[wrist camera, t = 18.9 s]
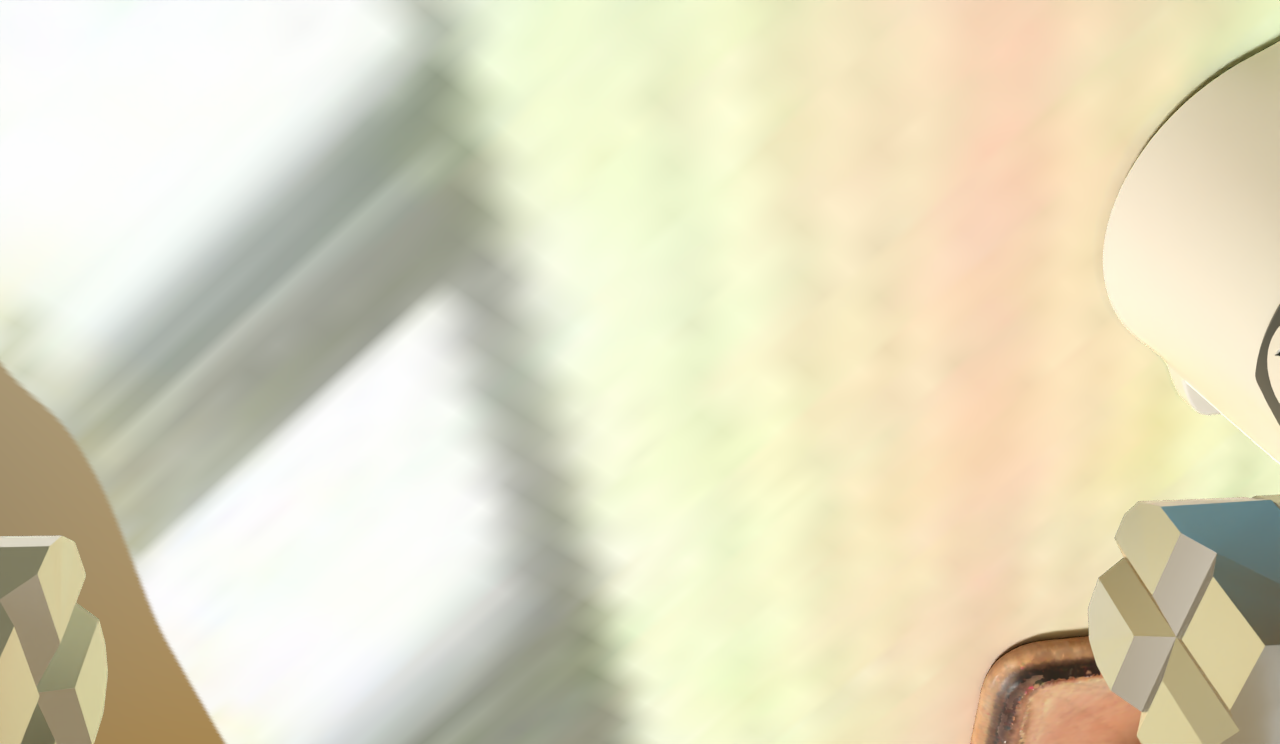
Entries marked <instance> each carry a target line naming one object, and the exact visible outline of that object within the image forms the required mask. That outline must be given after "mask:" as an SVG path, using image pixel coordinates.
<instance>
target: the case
mask: <svg viewBox="0 0 1280 744" xmlns="http://www.w3.org/2000/svg"><path fill="white" fill-rule="evenodd" d="M1140 717H1141V711H1139V710H1138V709H1137V708H1135V707H1134V706H1132V705H1131V704H1129V703H1128V702H1127V701H1125V700H1124V699H1122V698H1121V697H1119V696H1118V695H1117V694H1115V693H1114V692H1112V691H1111V690H1110V688H1109V686H1108V685H1107V683H1106V681H1105V679H1104V677H1103V676H1102V674H1101V672H1100V670H1099V668H1098V667H1097V664H1096V661H1095V658H1094V655H1093V651H1092V648H1091V645H1090V641H1089V636H1086V637H1074V638H1067V639H1056V640H1046V641H1038V642H1033V643H1029V644H1025V645H1022V646H1019V647H1017V648H1015V649H1013V650H1011V651H1010V652H1008V653H1006V654H1005V655H1003V656H1002V657H1001V658H1000V659H998V660H997V661H996V662H995V663H994V665H993V666H992V667H991V669H990V670H989V672H988V674H987V676H986V678H985V680H984V683H983V685H982V688H981V693H980V698H979V703H978V709H977V713H976V718H975V723H974V728H973V733H972V738H971V743H970V744H1141V742H1140V740H1139V739H1138V737H1137V732H1138V727H1139V722H1140Z"/></svg>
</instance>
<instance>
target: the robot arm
mask: <svg viewBox="0 0 1280 744" xmlns="http://www.w3.org/2000/svg"><path fill="white" fill-rule="evenodd" d="M1103 272H1104V281H1105V285H1106V290H1107V293H1108V297H1109V300H1110V302H1111V304H1112V307H1113V309H1114V311H1115V313H1116V314H1117V316H1118V318H1119V319H1120V321H1121V322H1122V323H1123V325H1124V326H1125V327H1126V328H1127V330H1128V331H1129V332H1130V333H1131V334H1132V335H1133V336H1134V337H1136V338H1137V339H1138V340H1139V341H1141V342H1142V343H1143V344H1145V345H1146V346H1147V347H1149V348H1150V349H1151V350H1153V351H1154V352H1155V353H1156V354H1158V355H1159V356H1160V357H1161V358H1162V359H1163V360H1164V361H1165V362H1166V364H1167V367H1168V370H1169V373H1170V376H1171V379H1172V382H1173V384H1174V387H1175V389H1176V391H1177V393H1178V395H1179V396H1180V397H1181V399H1182V400H1183V401H1184V402H1186V403H1187V404H1188V405H1189V406H1190V407H1191V408H1193V409H1194V410H1195V411H1196V412H1198V413H1200V414H1203V415H1216V414H1222V415H1223V416H1225V417H1226V418H1227V419H1228V420H1229V421H1230V422H1231V423H1233V424H1234V425H1235V426H1236V427H1237V428H1238V429H1239V430H1240V431H1242V432H1243V433H1244V434H1245V435H1246V436H1247V437H1248V438H1250V439H1251V440H1252V441H1253V442H1254V443H1255V444H1256V445H1258V446H1259V447H1260V448H1261V449H1262V450H1263V451H1265V452H1266V453H1267V454H1268V455H1269V456H1270V457H1272V458H1273V459H1274V460H1275V461H1276V462H1277V463H1279V464H1280V41H1278V42H1277V43H1275V44H1273V45H1272V46H1270V47H1268V48H1266V49H1264V50H1263V51H1261V52H1259V53H1257V54H1255V55H1253V56H1251V57H1250V58H1248V59H1246V60H1244V61H1242V62H1241V63H1239V64H1237V65H1235V66H1234V67H1232V68H1231V69H1229V70H1227V71H1226V72H1224V73H1223V74H1221V75H1220V76H1218V77H1217V78H1215V79H1214V80H1213V81H1211V82H1210V83H1209V84H1207V85H1206V86H1205V87H1203V88H1202V89H1201V90H1200V91H1198V92H1197V93H1196V94H1195V95H1194V96H1192V97H1191V98H1190V99H1189V100H1188V101H1187V102H1186V103H1184V104H1183V105H1182V106H1181V107H1180V108H1179V109H1178V110H1177V111H1176V112H1175V113H1174V114H1173V115H1172V116H1171V117H1170V118H1169V119H1168V120H1167V121H1166V123H1165V124H1164V125H1163V126H1162V127H1161V128H1160V129H1159V130H1158V132H1157V133H1156V134H1155V135H1154V136H1153V138H1152V139H1151V140H1150V142H1149V143H1148V144H1147V146H1146V147H1145V148H1144V150H1143V151H1142V153H1141V154H1140V155H1139V157H1138V158H1137V160H1136V161H1135V163H1134V165H1133V166H1132V168H1131V170H1130V172H1129V173H1128V175H1127V177H1126V179H1125V181H1124V183H1123V185H1122V187H1121V189H1120V191H1119V193H1118V196H1117V198H1116V200H1115V203H1114V206H1113V209H1112V211H1111V215H1110V218H1109V222H1108V225H1107V230H1106V235H1105V241H1104V249H1103ZM1115 540H1116V542H1117V544H1118V546H1119V548H1120V550H1121V552H1122V554H1123V556H1124V558H1122V559H1121V560H1120V561H1119V562H1117V563H1116V564H1115V565H1114V566H1113V567H1111V568H1110V569H1109V570H1108V571H1106V572H1105V573H1104V574H1103V575H1102V576H1100V577H1099V578H1098V581H1097V584H1096V586H1095V589H1094V592H1093V595H1092V598H1091V601H1090V604H1089V607H1088V622H1089V641H1090V645H1091V648H1092V651H1093V655H1094V658H1095V661H1096V664H1097V667H1098V668H1099V670H1100V672H1101V674H1102V676H1103V677H1104V679H1105V681H1106V683H1107V685H1108V686H1109V688H1110V690H1111V691H1112V692H1114V693H1115V694H1117V695H1118V696H1119V697H1121V698H1122V699H1124V700H1125V701H1127V702H1128V703H1129V704H1131V705H1132V706H1134V707H1135V708H1137V709H1138V710H1139V711H1141V717H1140V722H1139V727H1138V732H1137V737H1138V739H1139V740H1140V742H1141V744H1280V495H1264V496H1255V497H1252V498H1247V497H1237V498H1212V499H1187V500H1162V501H1138V502H1137V503H1136V504H1135V505H1134V506H1133V507H1132V508H1131V509H1130V510H1129V511H1128V512H1127V513H1126V514H1125V515H1124V517H1123V519H1122V521H1121V524H1120V526H1119V529H1118V531H1117V533H1116V536H1115ZM85 577H86V573H85V570H84V567H83V565H82V562H81V559H80V556H79V553H78V550H77V547H76V544H75V542H74V541H72V540H70V539H68V538H66V537H63V536H0V744H94V742H95V738H96V735H97V732H98V729H99V725H100V722H101V719H102V715H103V711H104V703H105V694H106V685H107V676H108V668H107V657H106V646H105V640H104V637H103V633H102V629H101V625H100V622H99V619H98V618H96V617H95V616H94V615H92V614H91V613H90V612H88V611H87V610H85V609H84V608H83V607H81V606H80V605H79V604H77V603H76V601H77V598H78V596H79V593H80V590H81V588H82V585H83V583H84V579H85Z"/></svg>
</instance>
